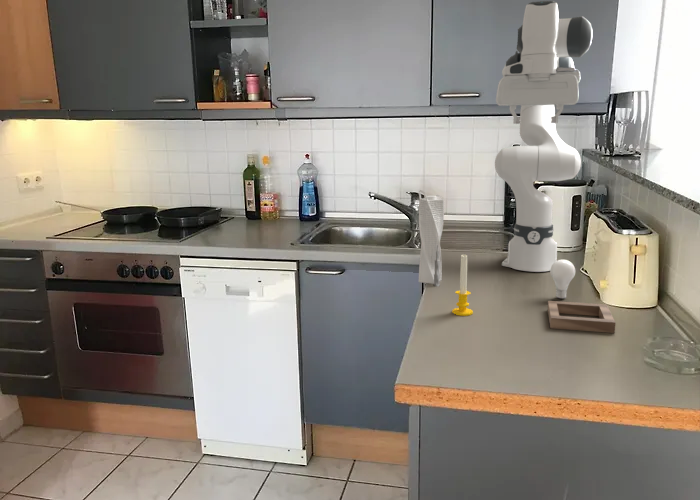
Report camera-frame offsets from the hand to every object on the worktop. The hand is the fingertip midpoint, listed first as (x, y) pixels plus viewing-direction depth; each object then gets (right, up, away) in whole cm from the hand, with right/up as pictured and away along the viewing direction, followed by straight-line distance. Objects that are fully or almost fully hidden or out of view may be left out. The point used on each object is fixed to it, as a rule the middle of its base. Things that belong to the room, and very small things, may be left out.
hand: (535, 123), depth 155 cm
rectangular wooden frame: (+8, -50, -9) cm, 51 cm away
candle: (-19, -49, -2) cm, 53 cm away
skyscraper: (-24, -43, +25) cm, 55 cm away
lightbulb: (+10, -46, +8) cm, 48 cm away
